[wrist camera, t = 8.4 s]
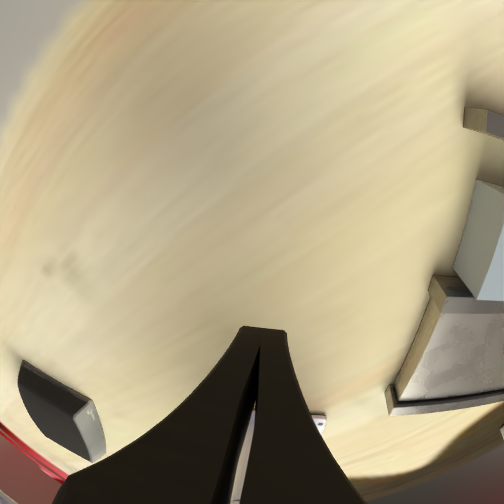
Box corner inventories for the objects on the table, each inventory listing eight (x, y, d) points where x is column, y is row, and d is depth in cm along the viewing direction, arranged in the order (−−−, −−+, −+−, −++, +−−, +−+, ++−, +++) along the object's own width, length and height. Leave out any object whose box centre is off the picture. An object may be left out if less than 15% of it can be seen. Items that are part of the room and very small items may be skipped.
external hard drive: (99, 399, 31) (85, 424, 27) (110, 452, 40) (102, 470, 36) (21, 354, 30) (5, 373, 27) (48, 419, 39) (38, 435, 36)
